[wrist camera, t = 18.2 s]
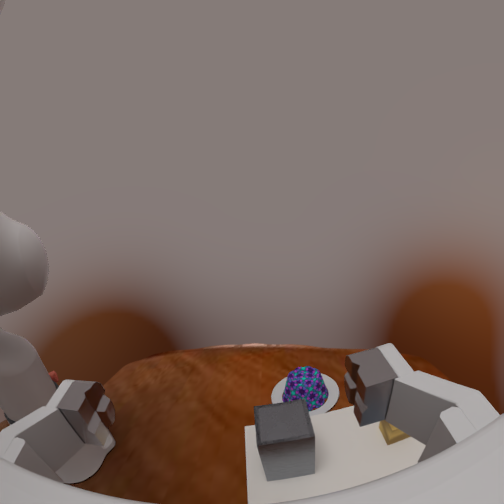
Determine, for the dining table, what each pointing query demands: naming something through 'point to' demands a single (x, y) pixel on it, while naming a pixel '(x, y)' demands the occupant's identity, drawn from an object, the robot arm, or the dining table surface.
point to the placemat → (332, 459)
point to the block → (391, 433)
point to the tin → (285, 439)
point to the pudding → (307, 389)
